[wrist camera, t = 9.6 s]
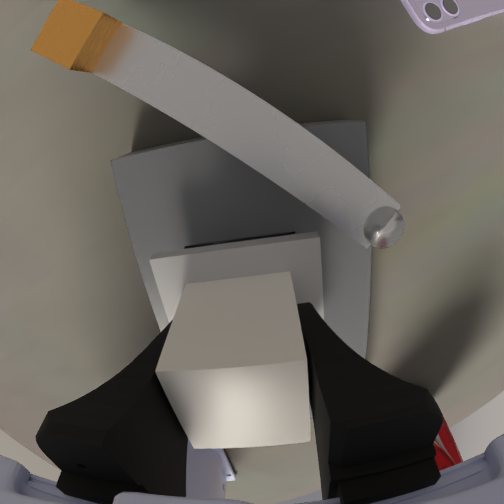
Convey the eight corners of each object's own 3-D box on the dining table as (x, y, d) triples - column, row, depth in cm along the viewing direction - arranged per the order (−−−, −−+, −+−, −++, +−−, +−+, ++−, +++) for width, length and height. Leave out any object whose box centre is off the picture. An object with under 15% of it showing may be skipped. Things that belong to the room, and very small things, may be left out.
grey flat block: (351, 385, 22) (360, 417, 19) (204, 401, 23) (199, 433, 20) (349, 119, 14) (370, 122, 12) (130, 152, 15) (104, 162, 12)
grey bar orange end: (361, 233, 14) (395, 279, 10) (79, 56, 11) (22, 46, 7) (388, 198, 13) (433, 234, 9) (103, 18, 10) (51, -7, 6)
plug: (316, 331, 17) (343, 451, 10) (197, 343, 17) (172, 462, 10) (308, 214, 14) (355, 314, 7) (166, 233, 14) (100, 338, 8)
